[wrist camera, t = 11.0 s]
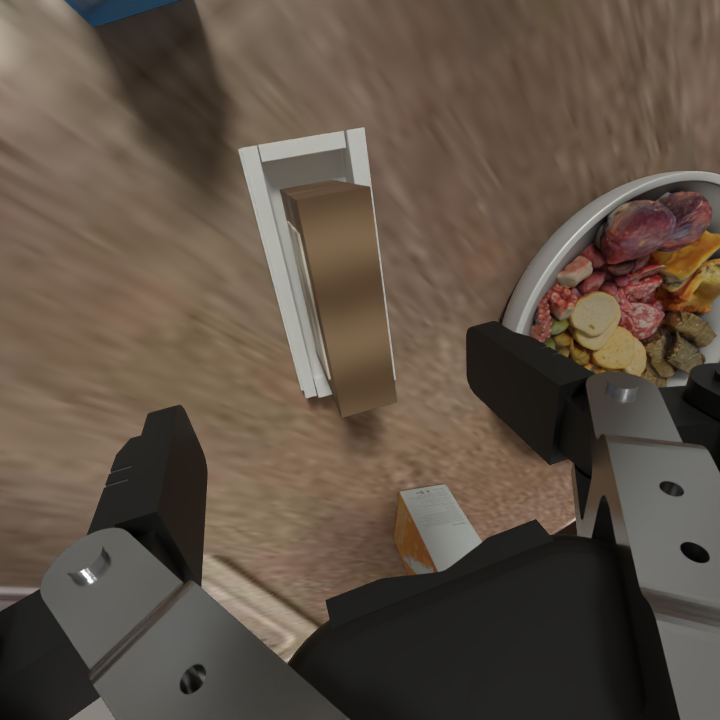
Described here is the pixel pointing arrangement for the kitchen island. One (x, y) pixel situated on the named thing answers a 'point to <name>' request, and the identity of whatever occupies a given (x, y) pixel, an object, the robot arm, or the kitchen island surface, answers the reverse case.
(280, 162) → the frame
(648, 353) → the bowl
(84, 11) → the perfume bottle
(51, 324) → the kitchen island surface
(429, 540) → the small box
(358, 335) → the oak frame
